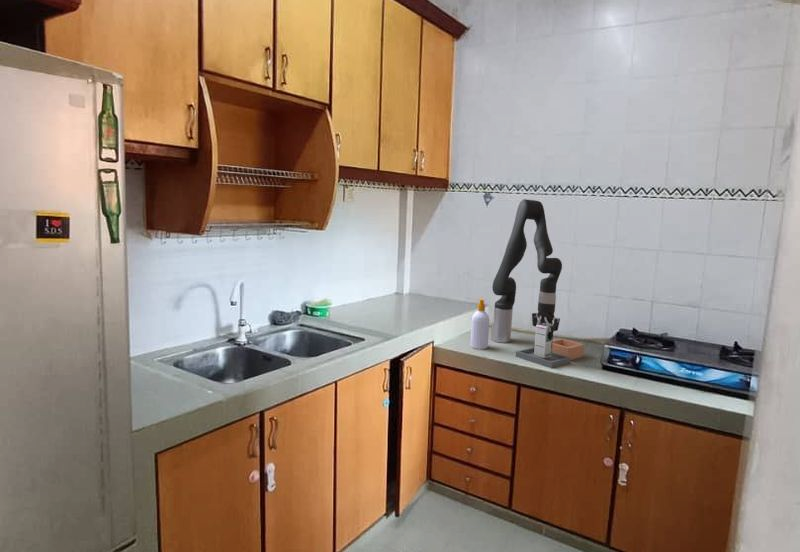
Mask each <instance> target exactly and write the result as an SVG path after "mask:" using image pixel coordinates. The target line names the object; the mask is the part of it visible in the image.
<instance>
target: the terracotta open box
mask: <svg viewBox="0 0 800 552" xmlns="http://www.w3.org/2000/svg"><path fill="white" fill-rule="evenodd" d="M584 347H585V344H583V343H580V342H576V341H573V340H569V339H565V338H558V339H553V342H552V352H554V353H557V354H560V355H564V356H567V357H571V361H573V360H575V359H579V358H583V357H584Z"/></svg>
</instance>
